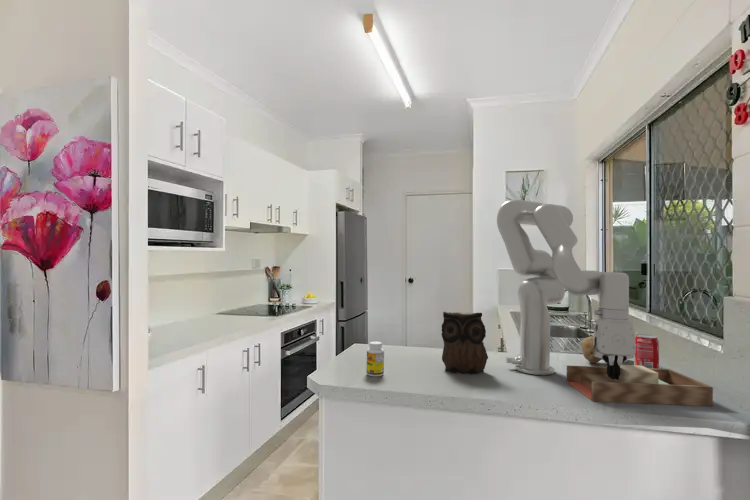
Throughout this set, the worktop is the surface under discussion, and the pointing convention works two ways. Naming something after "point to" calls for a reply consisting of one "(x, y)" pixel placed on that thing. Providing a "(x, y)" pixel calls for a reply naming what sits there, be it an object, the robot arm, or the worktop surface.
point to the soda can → (647, 351)
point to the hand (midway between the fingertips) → (613, 378)
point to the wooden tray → (640, 387)
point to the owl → (463, 343)
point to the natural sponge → (589, 350)
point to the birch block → (637, 374)
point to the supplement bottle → (375, 359)
